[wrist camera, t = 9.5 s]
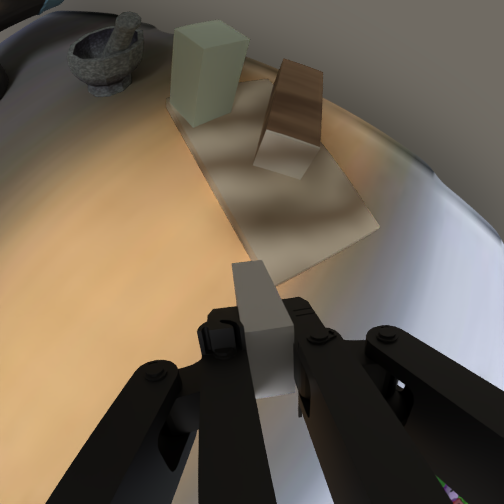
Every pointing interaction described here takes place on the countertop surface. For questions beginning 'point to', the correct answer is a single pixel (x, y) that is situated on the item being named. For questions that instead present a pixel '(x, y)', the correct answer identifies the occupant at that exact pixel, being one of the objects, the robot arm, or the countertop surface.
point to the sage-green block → (206, 70)
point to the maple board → (275, 190)
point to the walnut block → (292, 121)
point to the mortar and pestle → (108, 55)
